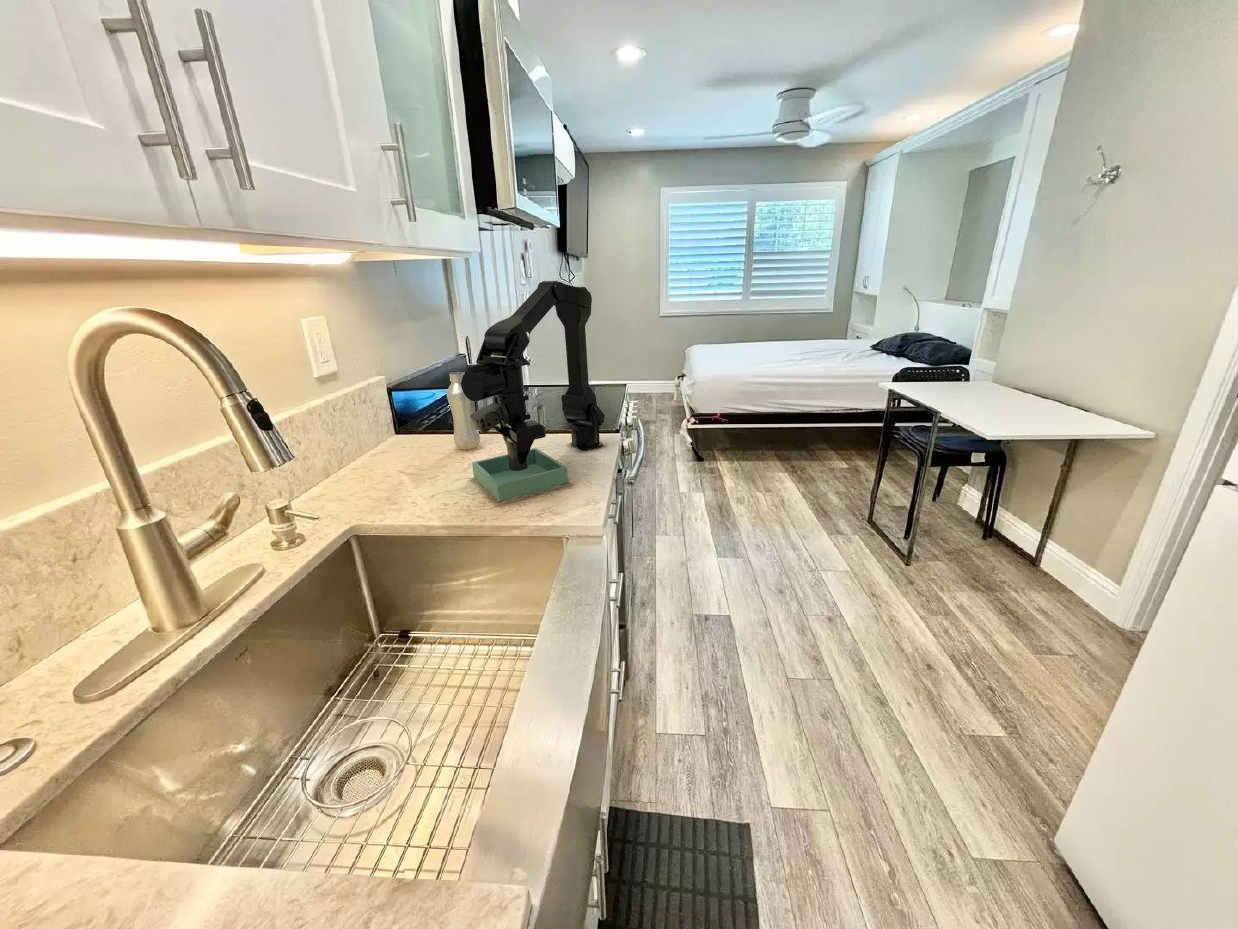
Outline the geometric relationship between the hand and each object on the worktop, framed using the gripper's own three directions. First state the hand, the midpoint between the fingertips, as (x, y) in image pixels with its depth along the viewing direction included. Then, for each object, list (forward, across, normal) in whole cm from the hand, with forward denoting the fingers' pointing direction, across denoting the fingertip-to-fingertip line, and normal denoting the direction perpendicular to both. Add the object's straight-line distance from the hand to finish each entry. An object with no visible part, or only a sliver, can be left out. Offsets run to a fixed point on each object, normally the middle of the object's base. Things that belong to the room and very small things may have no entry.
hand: (517, 460), depth 106 cm
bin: (+5, 0, 0) cm, 5 cm away
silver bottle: (+6, -30, -2) cm, 31 cm away
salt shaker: (+2, 0, 0) cm, 2 cm away
